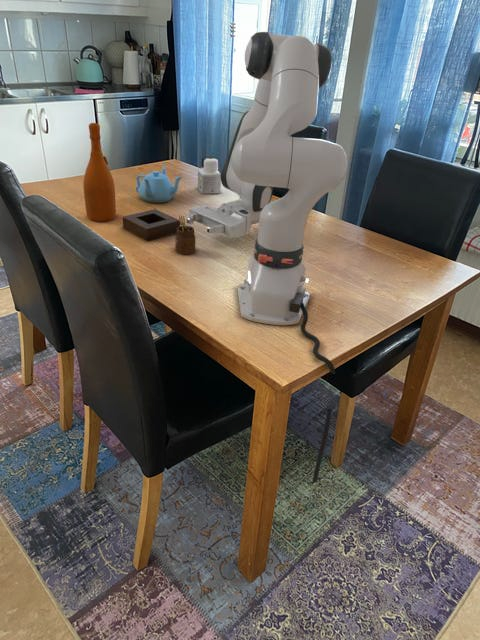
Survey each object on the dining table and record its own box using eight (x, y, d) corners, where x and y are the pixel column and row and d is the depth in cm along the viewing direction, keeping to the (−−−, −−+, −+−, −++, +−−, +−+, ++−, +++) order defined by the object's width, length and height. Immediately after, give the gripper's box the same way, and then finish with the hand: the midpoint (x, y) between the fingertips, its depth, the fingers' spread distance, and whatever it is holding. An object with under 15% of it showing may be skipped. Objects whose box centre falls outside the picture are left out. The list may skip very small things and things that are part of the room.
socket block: (180, 232, 159) (180, 220, 156) (147, 241, 150) (147, 229, 148) (155, 220, 166) (155, 208, 164) (123, 228, 158) (122, 216, 156)
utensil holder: (198, 248, 148) (199, 210, 142) (190, 256, 143) (191, 217, 137) (179, 245, 149) (179, 207, 143) (171, 253, 144) (171, 214, 138)
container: (197, 187, 200) (198, 155, 193) (215, 187, 202) (217, 155, 195) (201, 193, 194) (202, 160, 187) (220, 193, 196) (222, 160, 189)
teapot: (131, 194, 187) (130, 167, 182) (167, 190, 194) (167, 164, 188) (145, 206, 177) (144, 178, 171) (183, 202, 183) (183, 175, 178)
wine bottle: (119, 221, 162) (113, 126, 147) (88, 223, 159) (79, 126, 143) (114, 211, 170) (107, 120, 154) (84, 213, 167) (75, 119, 151)
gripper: (208, 197, 158) (175, 205, 150) (254, 216, 147) (221, 225, 138) (208, 216, 162) (175, 225, 153) (253, 235, 150) (220, 246, 141)
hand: (197, 225), depth 145 cm, fingers open, 8 cm apart
